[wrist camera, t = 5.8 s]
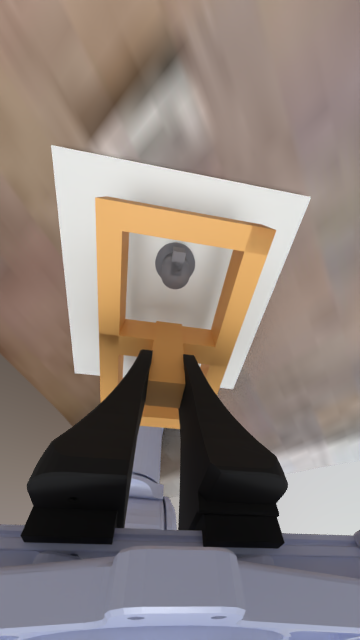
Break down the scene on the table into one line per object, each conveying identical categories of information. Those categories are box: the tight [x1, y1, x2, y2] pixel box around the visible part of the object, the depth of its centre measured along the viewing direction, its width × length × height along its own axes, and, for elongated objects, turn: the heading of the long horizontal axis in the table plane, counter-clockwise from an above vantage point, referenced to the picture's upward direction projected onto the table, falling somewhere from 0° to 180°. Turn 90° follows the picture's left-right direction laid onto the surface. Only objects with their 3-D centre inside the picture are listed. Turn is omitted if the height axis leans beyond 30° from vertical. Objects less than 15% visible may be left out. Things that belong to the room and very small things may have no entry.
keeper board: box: [51, 145, 311, 389], centre depth 19 cm, size 20×18×5 cm
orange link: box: [95, 196, 276, 429], centre depth 13 cm, size 16×8×6 cm, turn 171°
